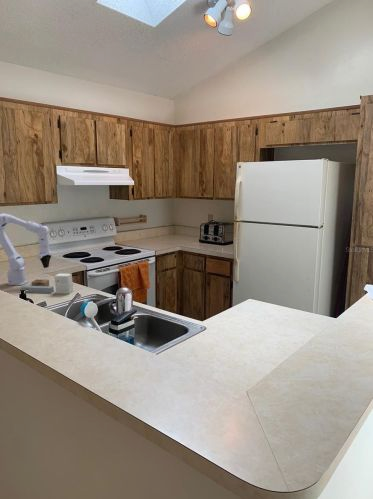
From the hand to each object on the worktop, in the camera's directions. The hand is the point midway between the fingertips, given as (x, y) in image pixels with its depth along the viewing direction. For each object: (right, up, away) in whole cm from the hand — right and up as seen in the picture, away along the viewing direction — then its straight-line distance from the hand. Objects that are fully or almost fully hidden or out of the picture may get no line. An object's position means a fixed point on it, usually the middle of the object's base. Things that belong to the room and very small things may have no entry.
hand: (46, 267), depth 233 cm
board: (+1, -13, -16) cm, 21 cm away
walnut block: (-1, -12, -6) cm, 13 cm away
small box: (+17, -14, -17) cm, 28 cm away
